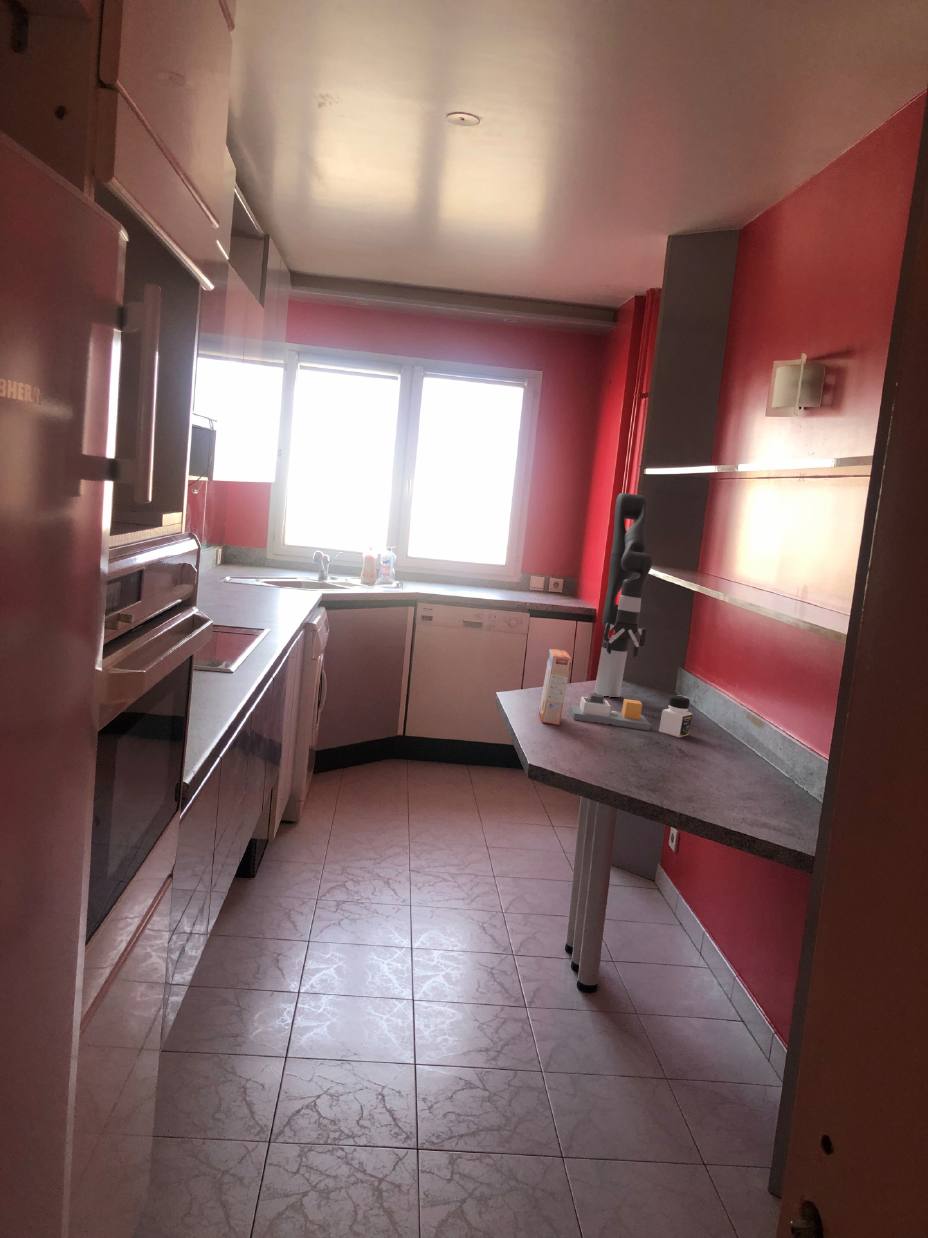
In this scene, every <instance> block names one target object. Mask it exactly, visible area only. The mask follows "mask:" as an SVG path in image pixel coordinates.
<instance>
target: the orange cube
mask: <svg viewBox="0 0 928 1238" xmlns="http://www.w3.org/2000/svg"><path fill="white" fill-rule="evenodd" d="M642 708H643V703H642V702H641V701H640V700H635V699H628V698H623V702H622V709H621V712H622V713H621V714H622V715H623V717H625V718H632V719H639V720H640V715H642Z"/></svg>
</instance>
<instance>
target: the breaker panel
mask: <svg viewBox="0 0 928 1238" xmlns="http://www.w3.org/2000/svg"><path fill="white" fill-rule="evenodd" d="M568 711H569V713H570V716H571V717H572V720H574V719H575V721H581V722H588V723H594V722H597V723H596V724H601V723H603V724H602V725H608V724H612V725H611V726H614V727H622V726H623V728H629V729H630V728H631V729H637V730H643V731H650V728H651V723H650V722H649V721H648V719H647V718H646V717H645V716H644V715H643V714H641V715H640V720H639V719H632V718H625V717H623V715H622V714H621V713H622V711H616V710H611V705H610V703H609V702H608V701H607V700H605V699H604V700H603V704H601V703H595V702H590V700H589V697H586V696H581V697H580V704H579V705H575V704H570V705H569V709H568Z"/></svg>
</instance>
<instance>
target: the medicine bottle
mask: <svg viewBox="0 0 928 1238" xmlns="http://www.w3.org/2000/svg"><path fill="white" fill-rule="evenodd" d="M690 702H691V701H690V699H689V698H688V697H687V696H684V695H679V694H673V695H670V697H669V702H668V708H664V709H662V712H661V718H660V722H659V729H658V731H659V732H660V733H662V734H665V735H670V736H672V737H676V738H682V737H686V736H688V735H689V734H690V728H691V723H692V718H693V713H692V712H690V711H689V706H690Z"/></svg>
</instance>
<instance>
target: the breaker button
mask: <svg viewBox="0 0 928 1238" xmlns="http://www.w3.org/2000/svg"><path fill="white" fill-rule="evenodd" d="M588 698H589V700H590V702H595V703H601V704H603V700H605V697H604V696H603V695H600V694H595V693H591V692H589V696H588Z"/></svg>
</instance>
